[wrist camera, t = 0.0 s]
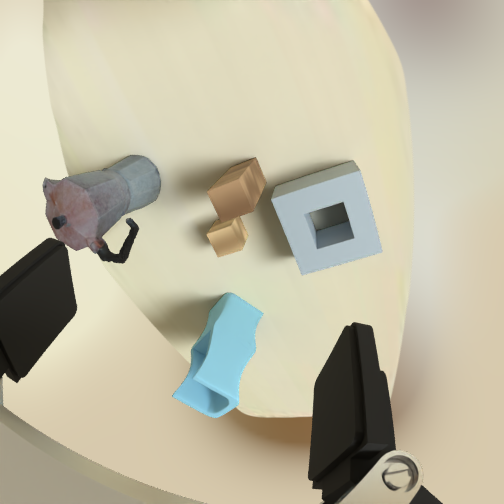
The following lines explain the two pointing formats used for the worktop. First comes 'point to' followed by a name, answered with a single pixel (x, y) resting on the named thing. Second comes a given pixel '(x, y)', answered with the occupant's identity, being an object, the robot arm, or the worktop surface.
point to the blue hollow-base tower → (220, 357)
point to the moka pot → (100, 204)
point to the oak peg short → (227, 236)
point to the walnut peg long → (238, 190)
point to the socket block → (335, 237)
